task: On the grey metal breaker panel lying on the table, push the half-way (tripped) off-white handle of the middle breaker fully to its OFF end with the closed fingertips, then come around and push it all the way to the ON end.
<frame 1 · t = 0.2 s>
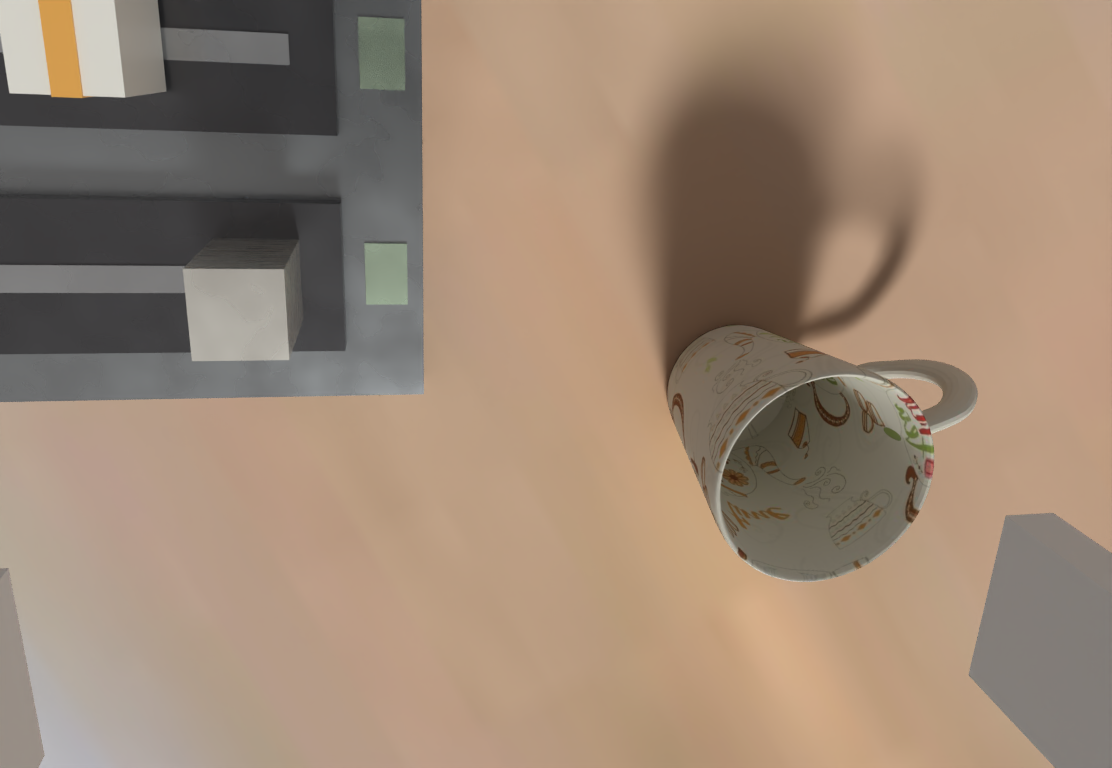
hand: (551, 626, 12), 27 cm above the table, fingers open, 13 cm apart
tripped breaker: (88, 39, 27), point 6 cm above the table, slide at 0.0 cm
mug: (770, 370, 41), on the table
panel: (140, 42, 32), on the table
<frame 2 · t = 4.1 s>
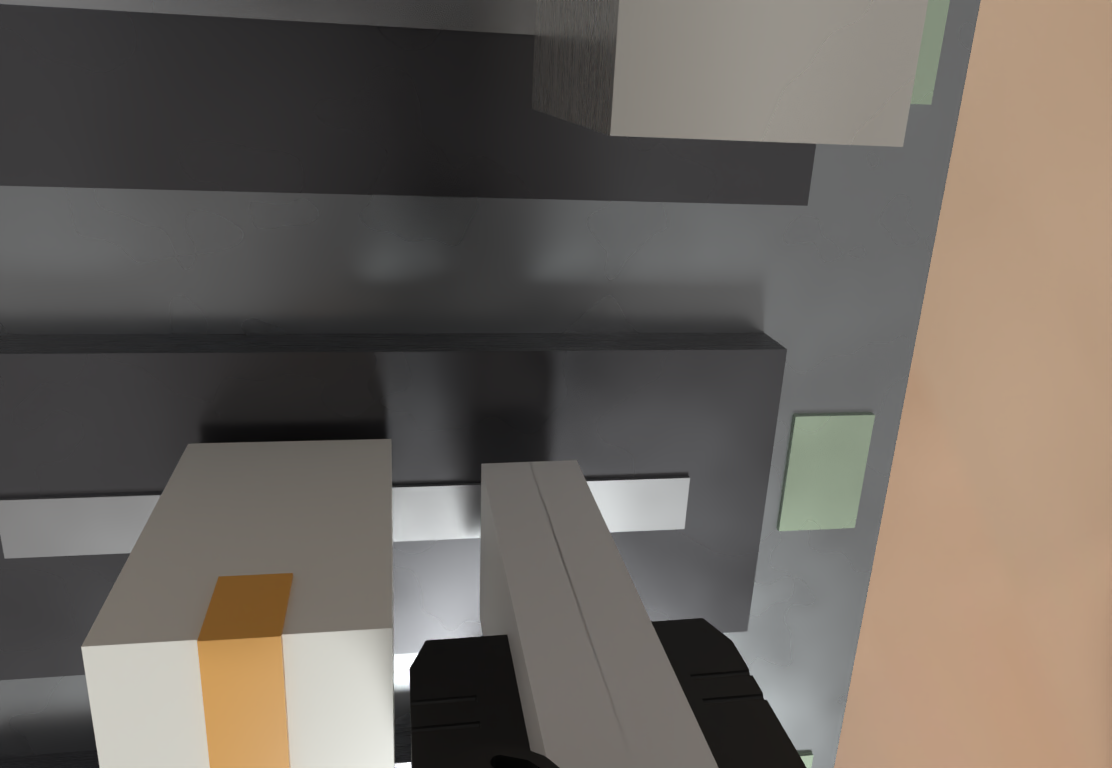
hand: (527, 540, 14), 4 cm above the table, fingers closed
tripped breaker: (277, 622, 12), point 6 cm above the table, slide at -1.1 cm, touching gripper
panel: (370, 441, 17), on the table
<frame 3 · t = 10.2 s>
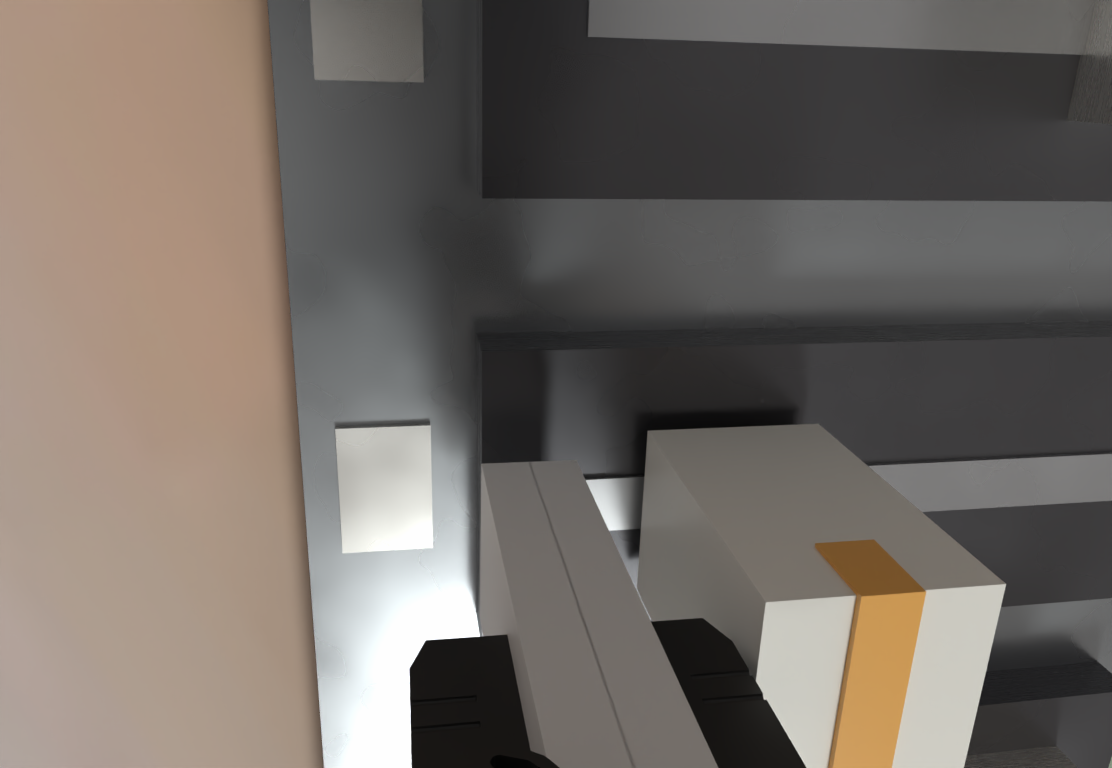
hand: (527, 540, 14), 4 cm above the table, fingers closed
tripped breaker: (786, 588, 13), point 6 cm above the table, slide at -2.8 cm, touching gripper
panel: (796, 426, 19), on the table
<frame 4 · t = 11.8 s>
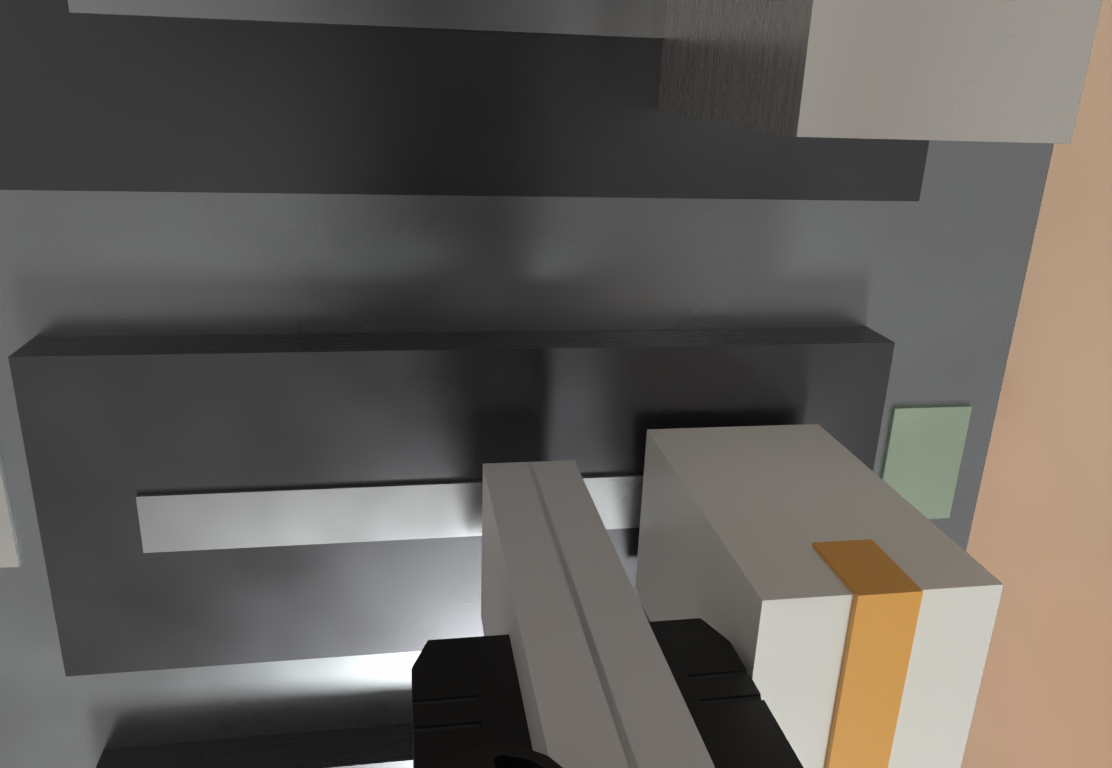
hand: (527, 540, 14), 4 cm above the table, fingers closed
tripped breaker: (784, 588, 13), point 6 cm above the table, slide at 4.1 cm, touching gripper
panel: (472, 437, 18), on the table
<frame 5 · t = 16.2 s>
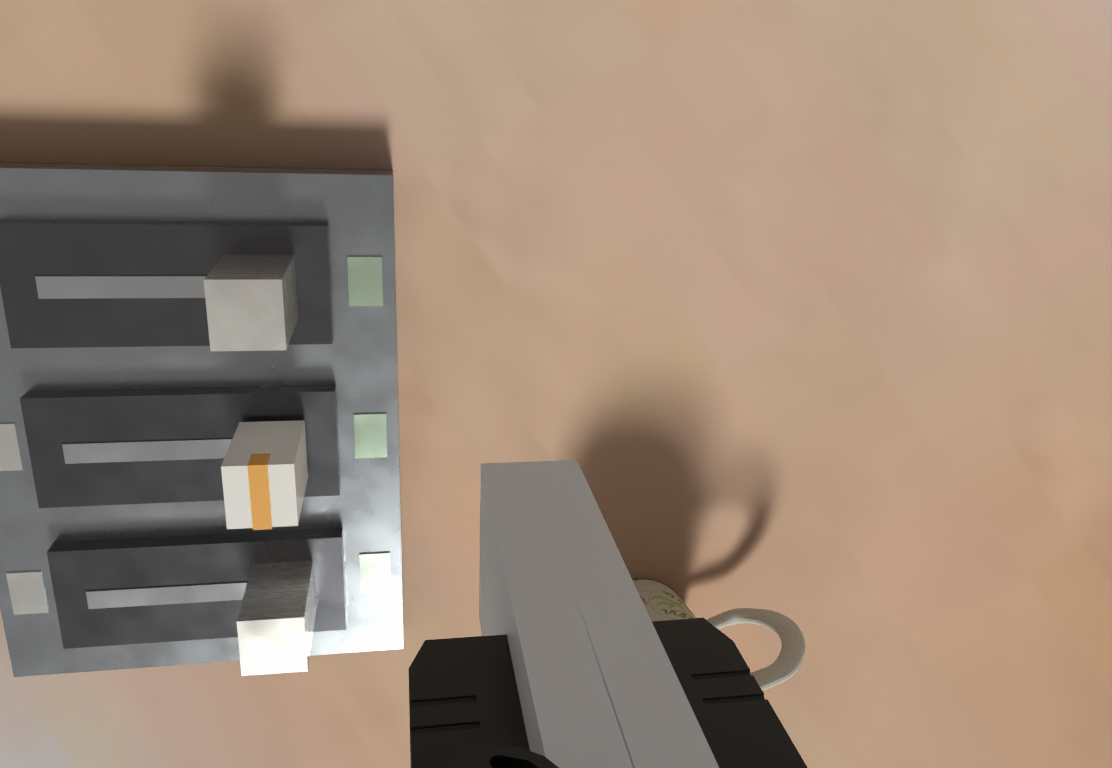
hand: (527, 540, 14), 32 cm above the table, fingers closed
tripped breaker: (267, 472, 41), point 6 cm above the table, slide at 4.1 cm
mug: (667, 607, 55), on the table
panel: (200, 425, 46), on the table
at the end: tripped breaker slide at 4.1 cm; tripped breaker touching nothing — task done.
